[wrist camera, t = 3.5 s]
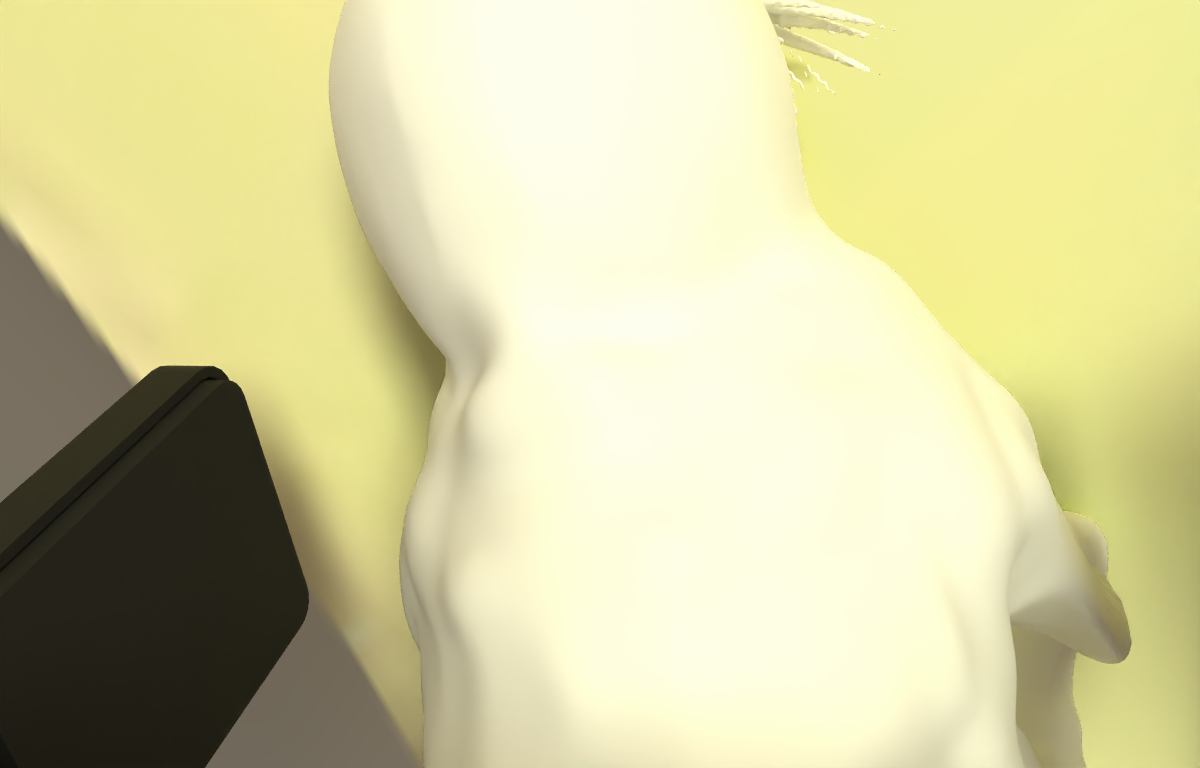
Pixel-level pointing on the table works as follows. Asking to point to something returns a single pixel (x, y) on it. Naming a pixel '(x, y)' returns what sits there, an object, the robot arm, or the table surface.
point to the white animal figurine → (690, 416)
